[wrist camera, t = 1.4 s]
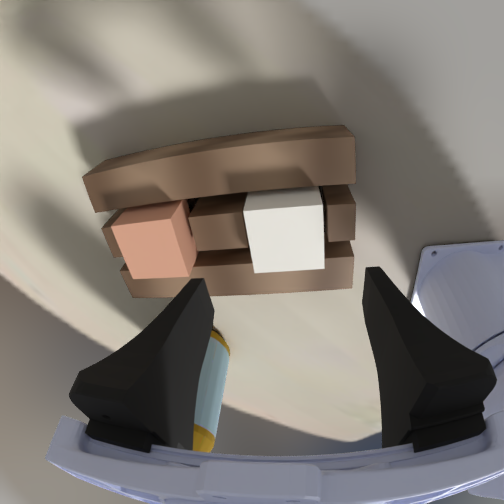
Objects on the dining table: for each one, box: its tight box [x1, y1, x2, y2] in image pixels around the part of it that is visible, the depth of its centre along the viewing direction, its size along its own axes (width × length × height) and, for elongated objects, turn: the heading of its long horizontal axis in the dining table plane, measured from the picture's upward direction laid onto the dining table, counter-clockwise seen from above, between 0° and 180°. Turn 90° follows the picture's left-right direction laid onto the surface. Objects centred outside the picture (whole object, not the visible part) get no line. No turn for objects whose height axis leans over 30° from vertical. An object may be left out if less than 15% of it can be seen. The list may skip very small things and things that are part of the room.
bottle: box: [193, 330, 230, 453], centre depth 23 cm, size 7×7×15 cm
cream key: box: [243, 186, 325, 273], centre depth 18 cm, size 4×4×3 cm
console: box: [82, 125, 356, 298], centre depth 20 cm, size 16×10×3 cm, turn 99°
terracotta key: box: [111, 199, 199, 279], centre depth 19 cm, size 4×4×3 cm
